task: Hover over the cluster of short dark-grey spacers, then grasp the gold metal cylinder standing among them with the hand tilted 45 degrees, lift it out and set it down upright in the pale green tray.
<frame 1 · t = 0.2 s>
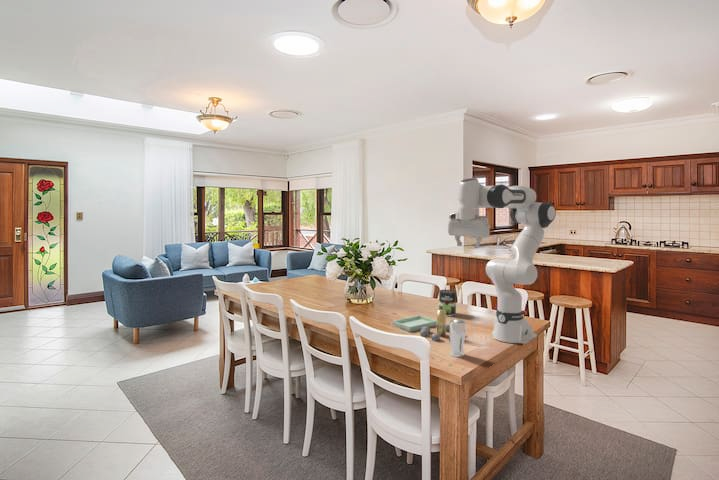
hand: (467, 246, 168), 47 cm above the table, tool pointing down, fingers open, 8 cm apart
gold metal cylinder: (441, 335, 193), on the table
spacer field: (441, 335, 193), on the table
coffee can: (447, 314, 232), on the table
beer glass: (457, 355, 168), on the table
tray: (414, 325, 210), on the table
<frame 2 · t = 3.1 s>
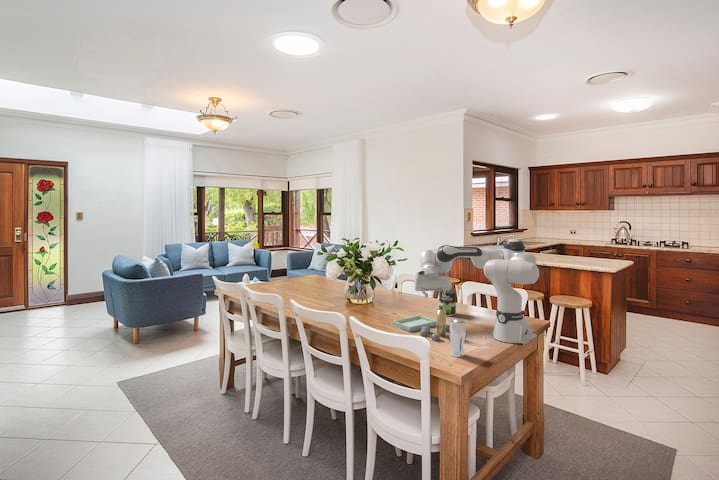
hand: (435, 296, 204), 17 cm above the table, tool tilted 45°, fingers open, 8 cm apart
nothing on the table moved.
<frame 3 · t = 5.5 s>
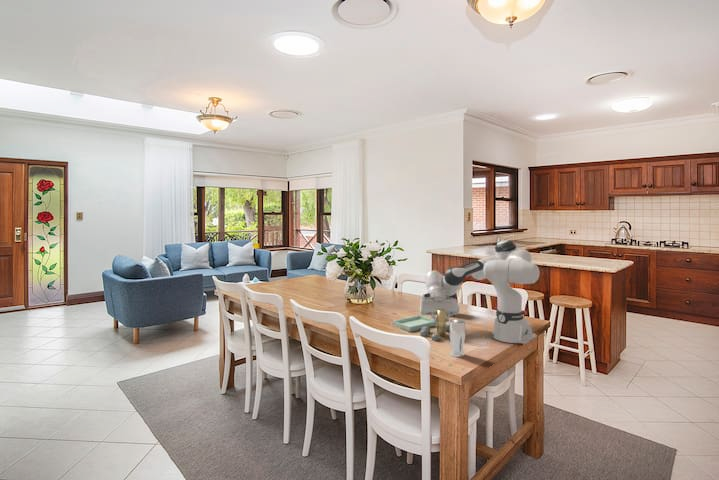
hand: (441, 321, 192), 7 cm above the table, tool tilted 45°, fingers closed on gold metal cylinder, 4 cm apart
gold metal cylinder: (441, 335, 193), on the table, touching gripper
everything else where it was.
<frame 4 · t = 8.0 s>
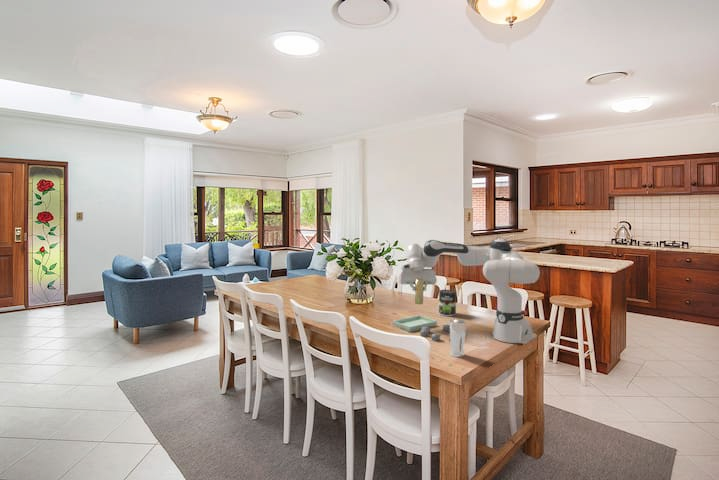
hand: (419, 290, 206), 20 cm above the table, tool tilted 45°, fingers closed on gold metal cylinder, 4 cm apart
gold metal cylinder: (418, 303, 207), point 13 cm above the table, touching gripper
everything else where it was.
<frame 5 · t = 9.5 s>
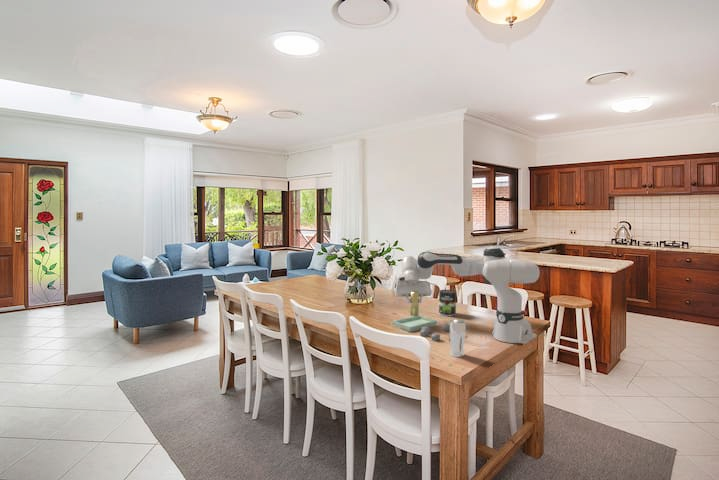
hand: (414, 302, 208), 13 cm above the table, tool tilted 45°, fingers closed on gold metal cylinder, 4 cm apart
gold metal cylinder: (414, 315, 209), point 6 cm above the table, touching gripper
everything else where it was.
when the fingers open (9 cm above the table, at t = 10.6 s): gold metal cylinder drops 1 cm, resting on tray.
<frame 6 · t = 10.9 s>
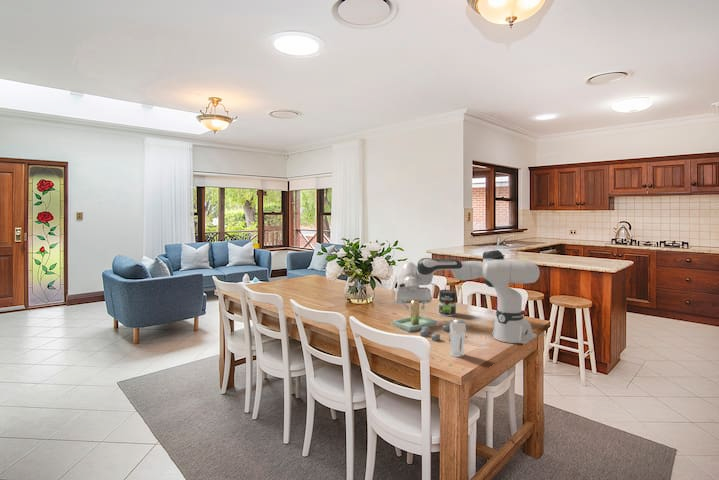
hand: (415, 309, 208), 9 cm above the table, tool tilted 45°, fingers open, 7 cm apart
gold metal cylinder: (414, 323, 210), point 1 cm above the table, touching tray
everything else where it was.
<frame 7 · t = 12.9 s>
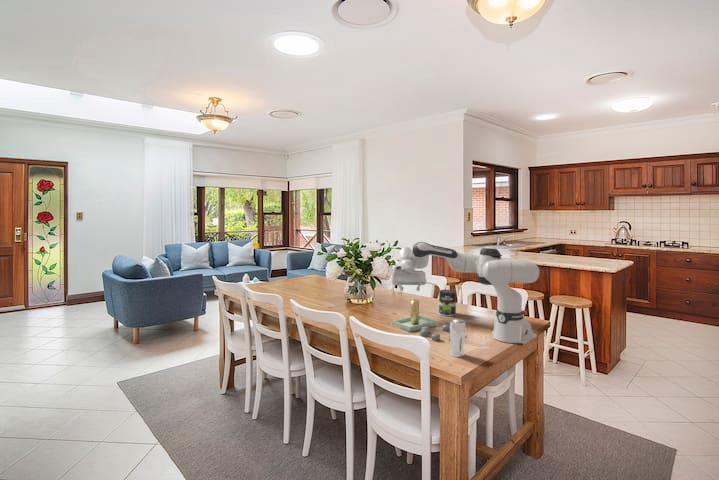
hand: (410, 290, 217), 18 cm above the table, tool tilted 45°, fingers open, 8 cm apart
nothing on the table moved.
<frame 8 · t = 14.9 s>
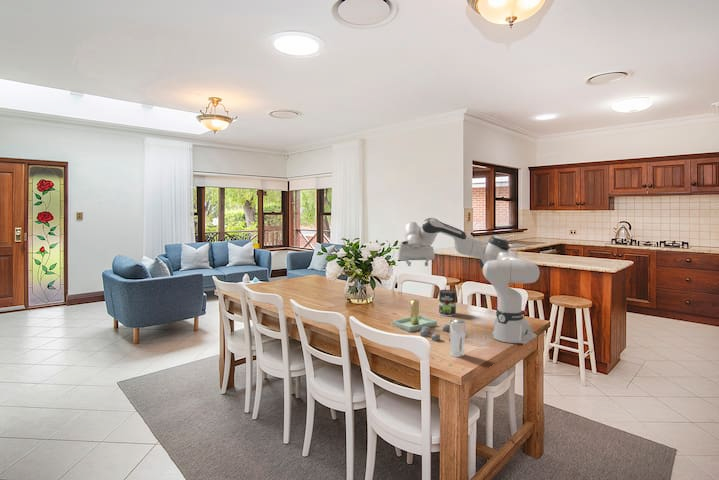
hand: (418, 265, 207), 33 cm above the table, tool tilted 45°, fingers open, 8 cm apart
nothing on the table moved.
at the end: gold metal cylinder inside the target area on the tray (0.1 cm from its centre), point 0.8 cm above the tray's base; gold metal cylinder tilted 1°; the gripper is holding nothing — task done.
